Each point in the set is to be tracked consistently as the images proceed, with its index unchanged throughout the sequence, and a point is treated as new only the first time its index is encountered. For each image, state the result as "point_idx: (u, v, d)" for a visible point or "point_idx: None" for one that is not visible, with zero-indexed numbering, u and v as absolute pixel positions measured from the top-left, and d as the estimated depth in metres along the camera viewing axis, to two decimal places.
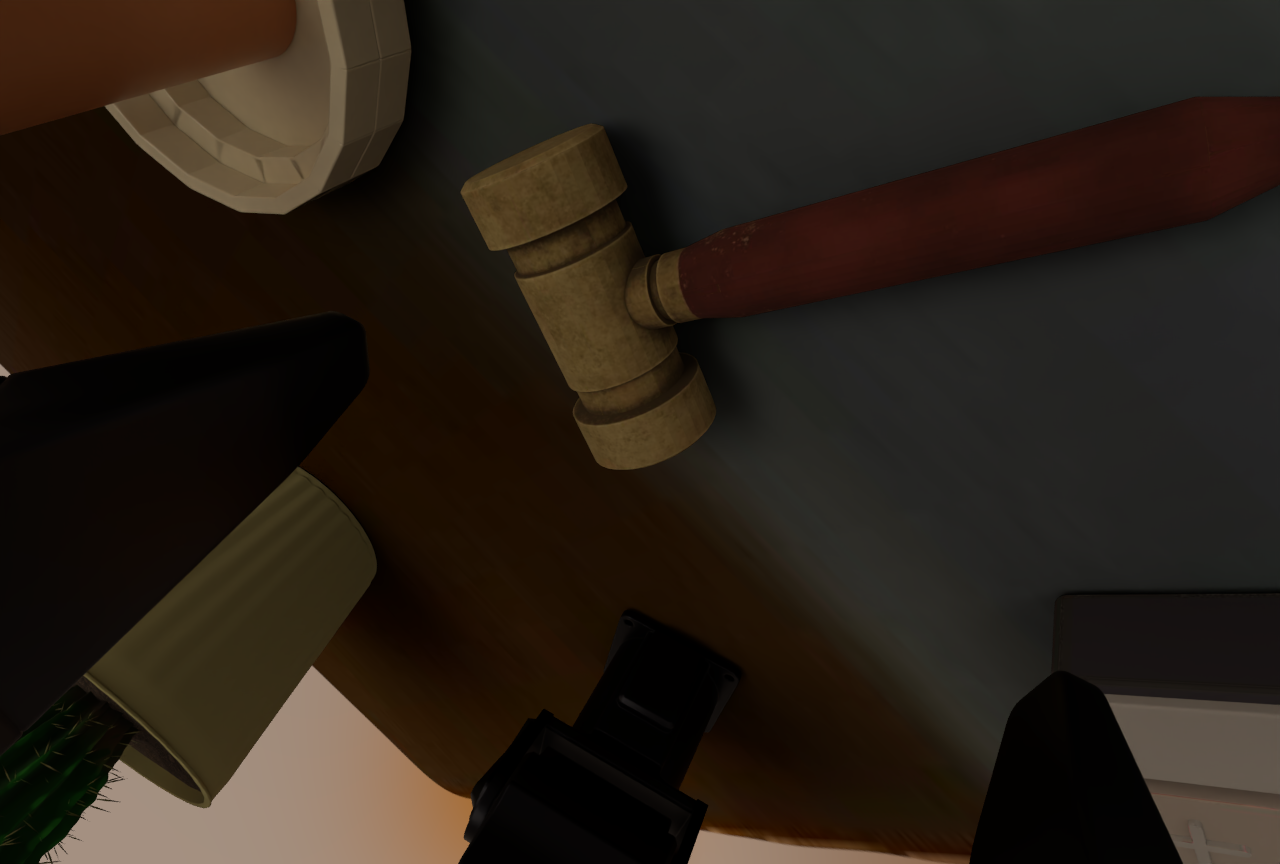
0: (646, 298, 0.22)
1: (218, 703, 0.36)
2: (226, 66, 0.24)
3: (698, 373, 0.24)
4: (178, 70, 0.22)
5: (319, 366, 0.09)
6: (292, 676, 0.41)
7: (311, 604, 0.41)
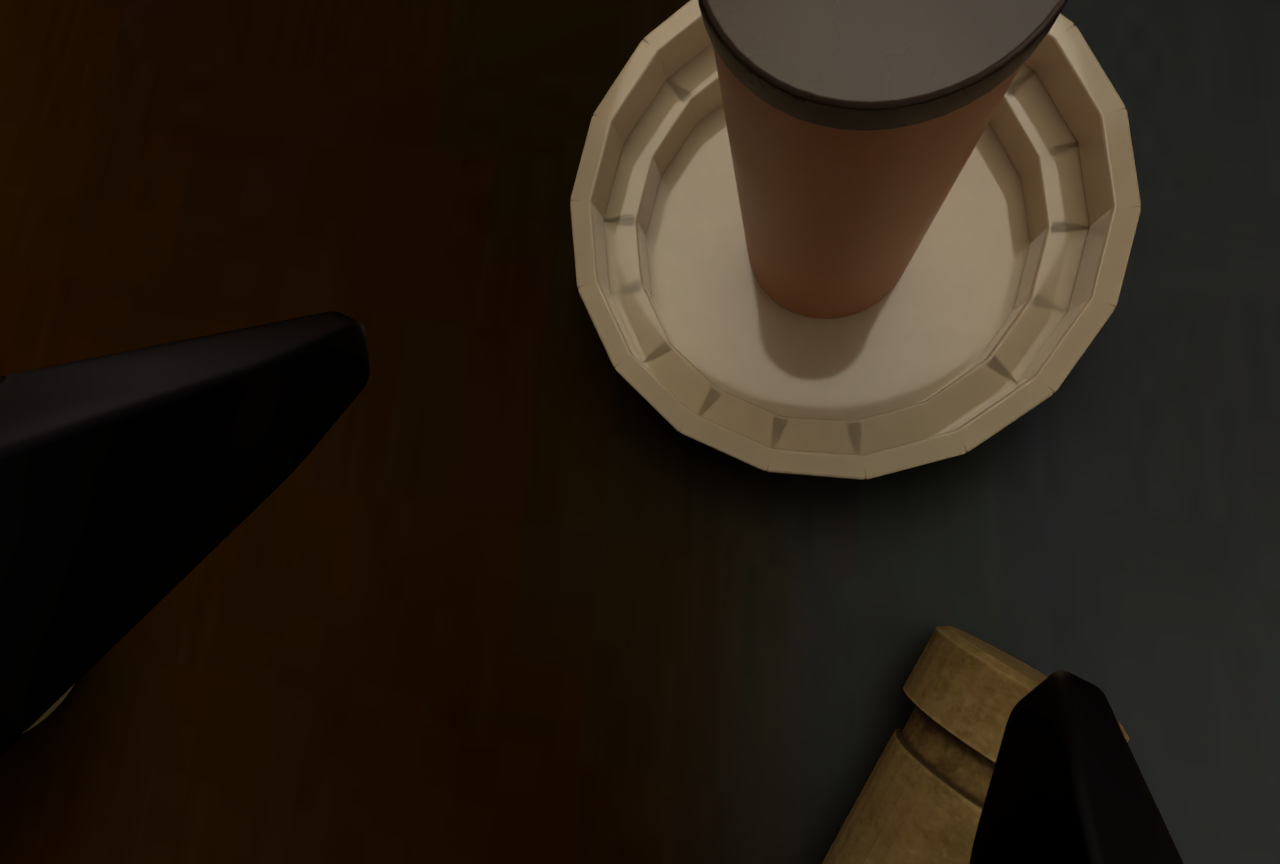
0: None
1: None
2: (804, 293, 0.19)
3: None
4: (829, 277, 0.17)
5: (319, 366, 0.09)
6: None
7: None
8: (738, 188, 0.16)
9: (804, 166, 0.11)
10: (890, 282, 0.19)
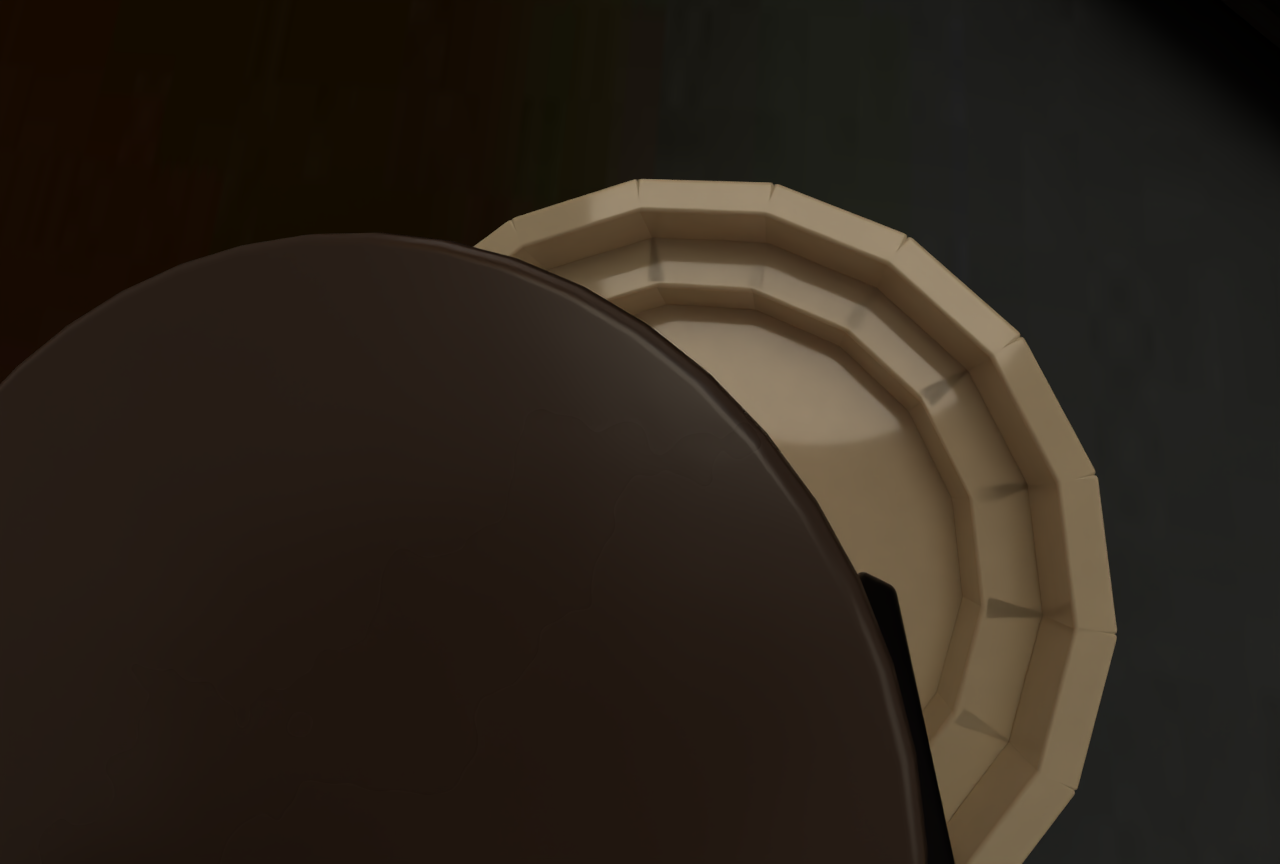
0: None
1: None
2: None
3: None
4: None
5: None
6: None
7: None
8: None
9: None
10: None
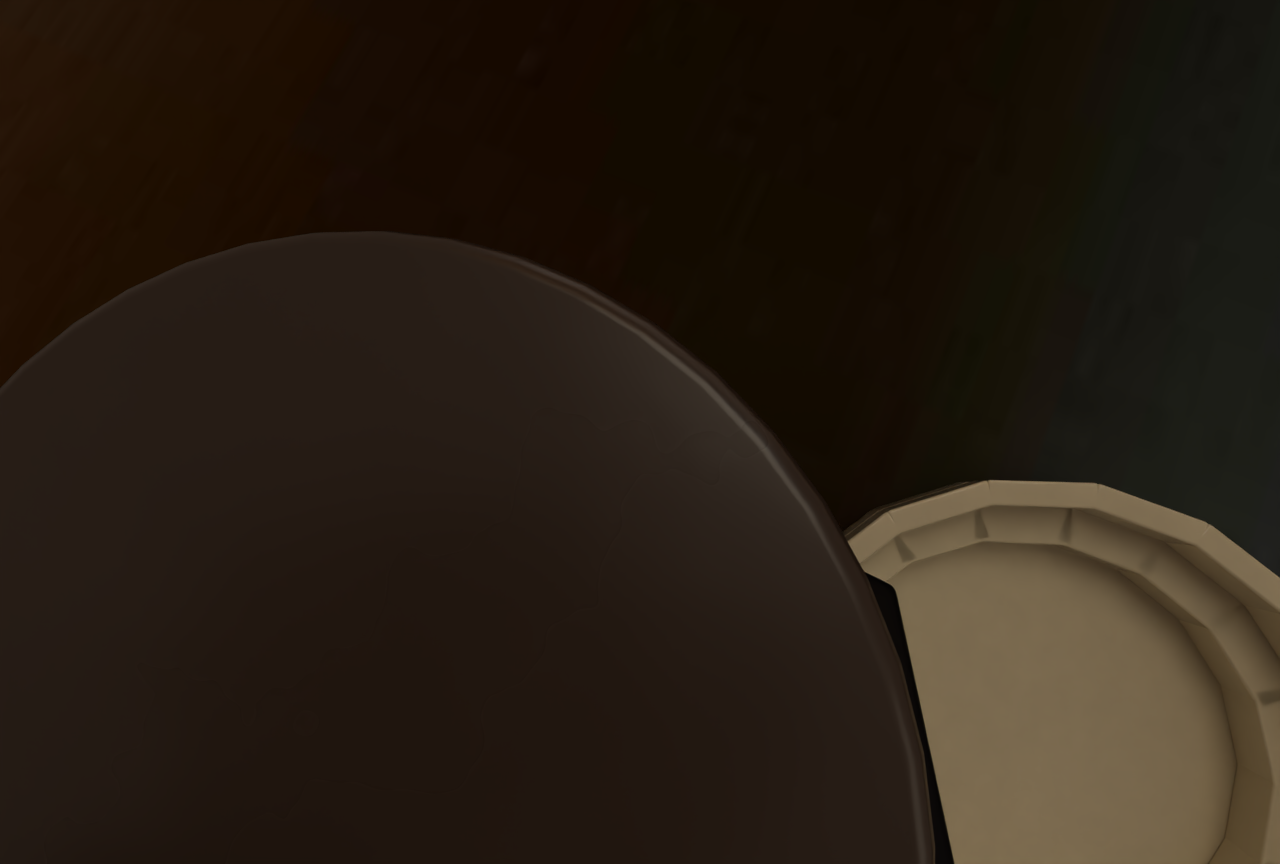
0: None
1: None
2: None
3: None
4: None
5: None
6: None
7: None
8: None
9: None
10: None
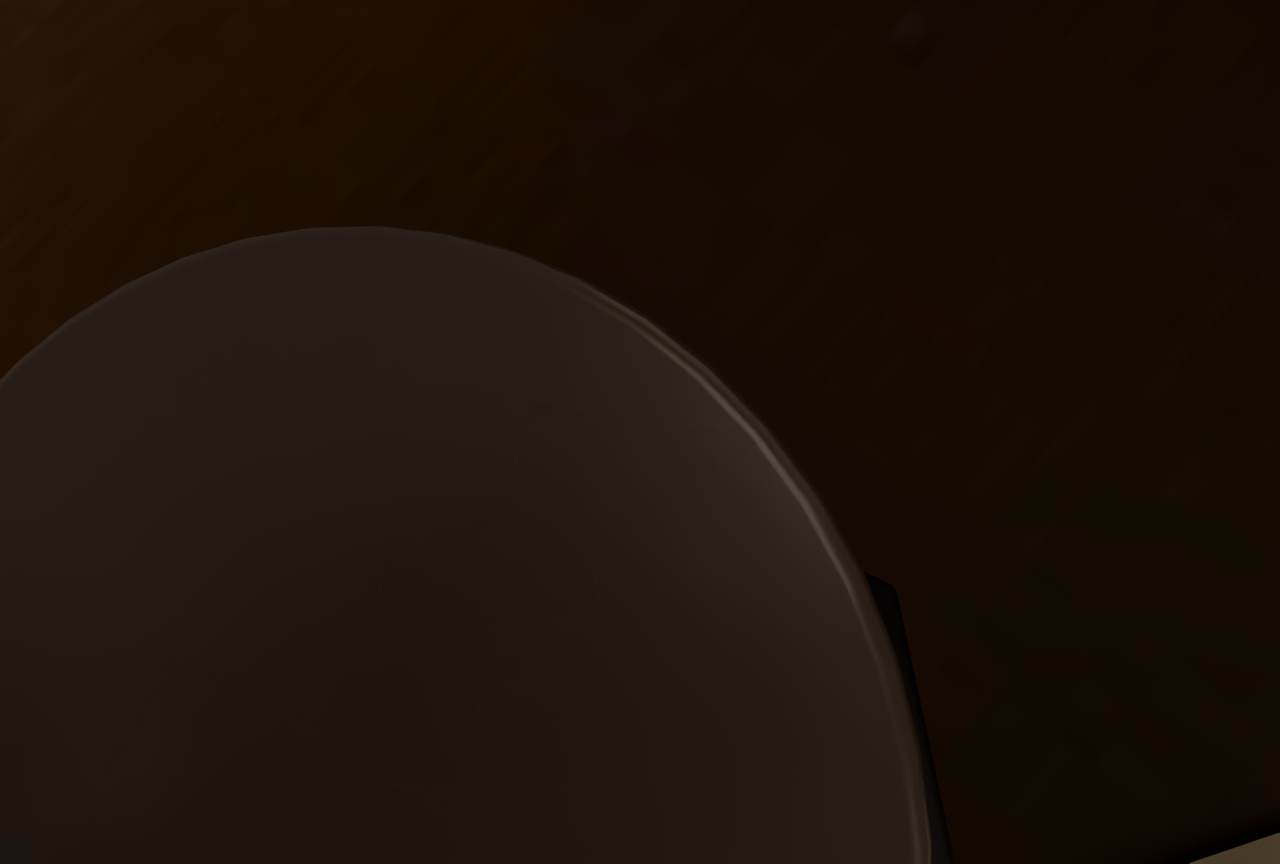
0: None
1: None
2: None
3: None
4: None
5: None
6: None
7: None
8: None
9: None
10: None
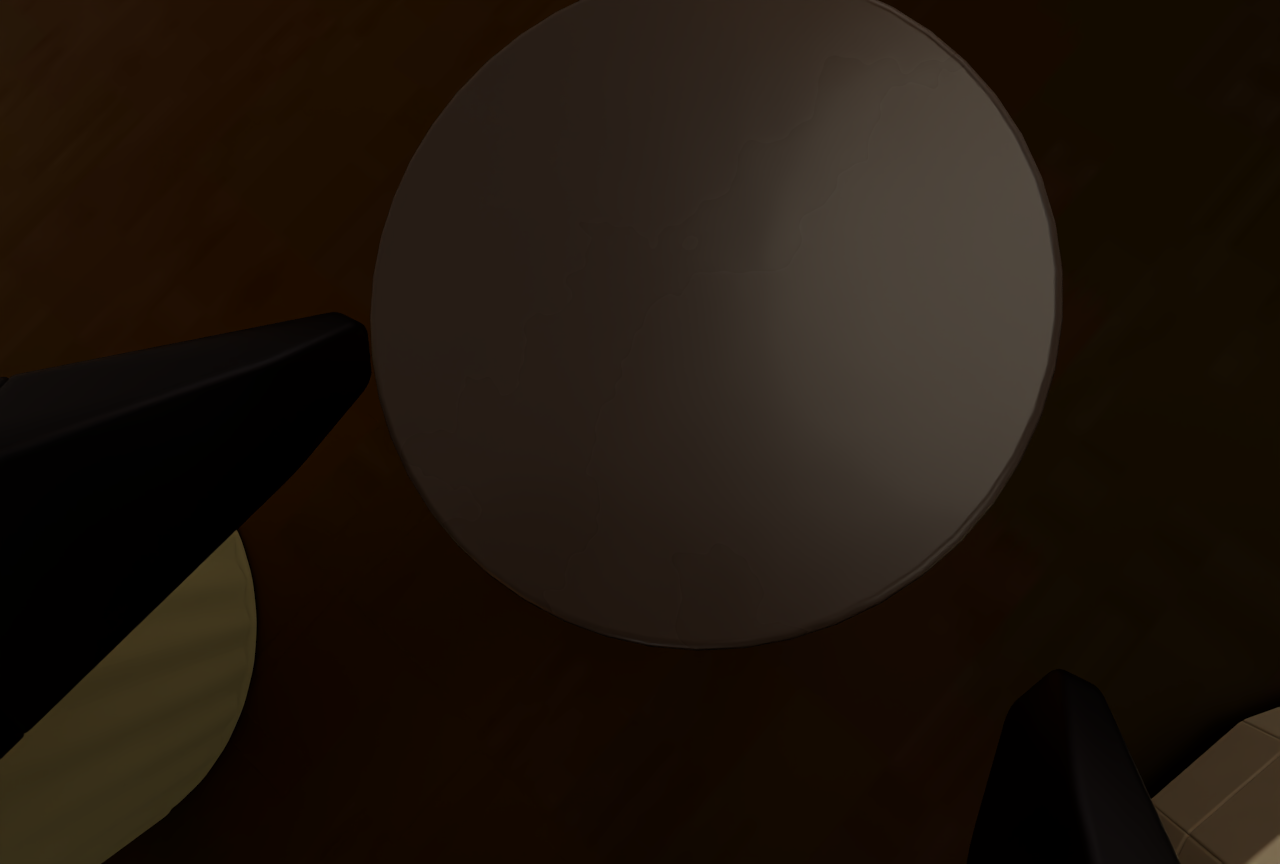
0: None
1: None
2: None
3: None
4: None
5: (321, 367, 0.09)
6: None
7: None
8: None
9: None
10: None
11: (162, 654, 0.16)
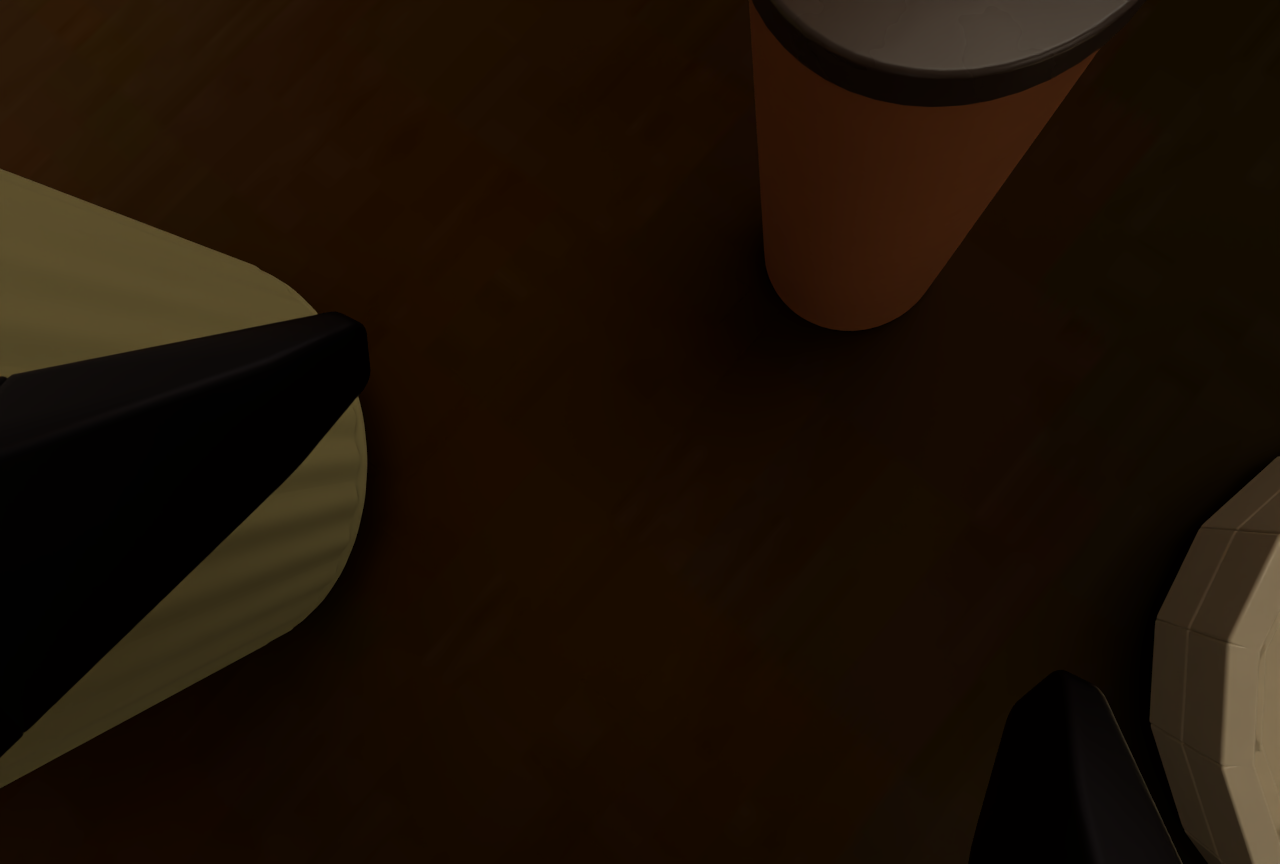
0: None
1: None
2: (827, 302, 0.17)
3: None
4: (857, 284, 0.16)
5: (320, 366, 0.09)
6: None
7: None
8: (763, 184, 0.14)
9: (849, 152, 0.10)
10: (918, 293, 0.18)
11: None
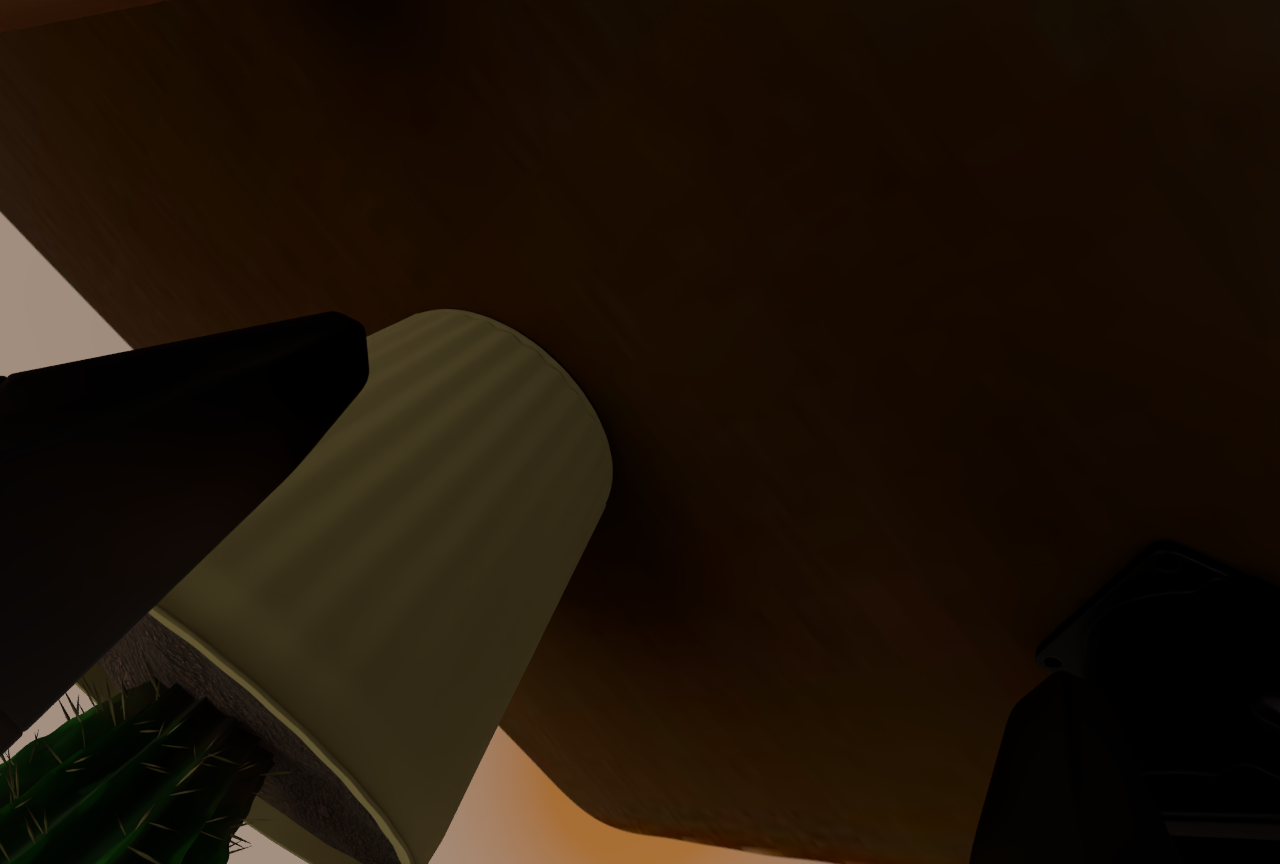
0: None
1: (452, 731, 0.19)
2: None
3: None
4: None
5: (319, 366, 0.09)
6: (521, 676, 0.24)
7: (557, 558, 0.25)
8: (142, 5, 0.17)
9: None
10: None
11: (432, 356, 0.24)
